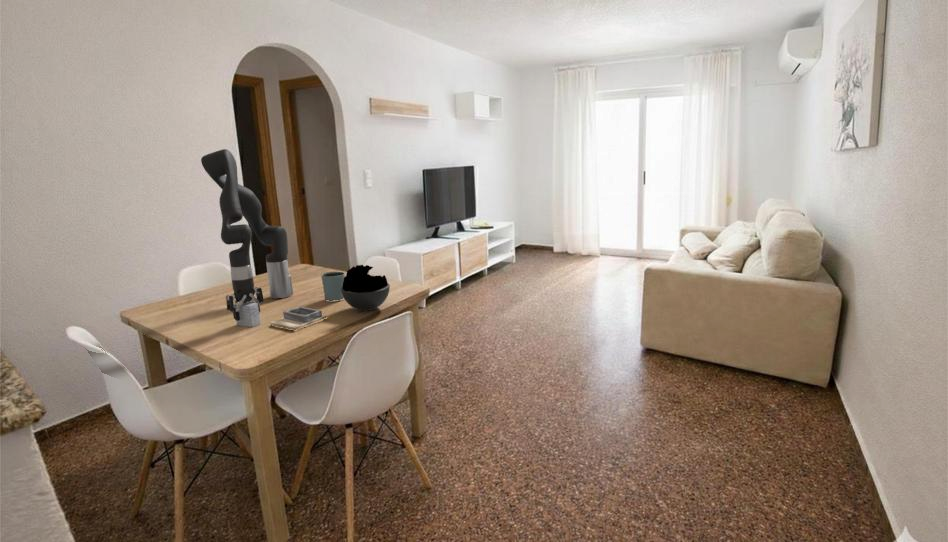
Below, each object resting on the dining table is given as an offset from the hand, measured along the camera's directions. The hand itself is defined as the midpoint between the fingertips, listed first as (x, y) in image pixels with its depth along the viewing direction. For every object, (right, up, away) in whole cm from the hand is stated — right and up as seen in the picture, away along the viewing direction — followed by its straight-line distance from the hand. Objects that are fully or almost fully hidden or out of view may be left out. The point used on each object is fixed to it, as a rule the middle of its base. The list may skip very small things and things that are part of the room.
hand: (247, 317), depth 193 cm
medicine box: (0, -3, +1) cm, 4 cm away
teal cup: (+25, +5, +33) cm, 42 cm away
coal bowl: (+43, +2, +17) cm, 46 cm away
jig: (+19, -2, +2) cm, 20 cm away
